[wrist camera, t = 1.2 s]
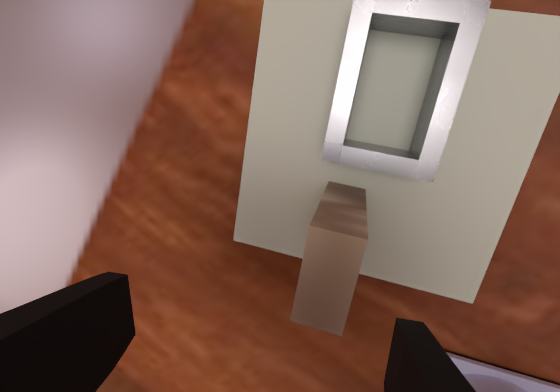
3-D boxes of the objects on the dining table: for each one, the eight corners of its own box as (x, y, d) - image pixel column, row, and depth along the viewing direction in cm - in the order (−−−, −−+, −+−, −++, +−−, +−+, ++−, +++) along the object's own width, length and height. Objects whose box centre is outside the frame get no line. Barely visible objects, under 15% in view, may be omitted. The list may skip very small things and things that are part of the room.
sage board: (574, 25, 14) (589, 19, 13) (466, 293, 18) (472, 303, 17) (271, -9, 17) (266, -16, 16) (238, 234, 21) (233, 240, 20)
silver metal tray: (465, 21, 14) (491, 0, 11) (420, 169, 16) (432, 182, 13) (357, 9, 15) (356, -14, 12) (327, 150, 17) (320, 159, 14)
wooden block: (365, 189, 17) (368, 239, 11) (348, 254, 18) (341, 336, 12) (328, 180, 18) (309, 225, 11) (314, 246, 19) (289, 320, 12)
